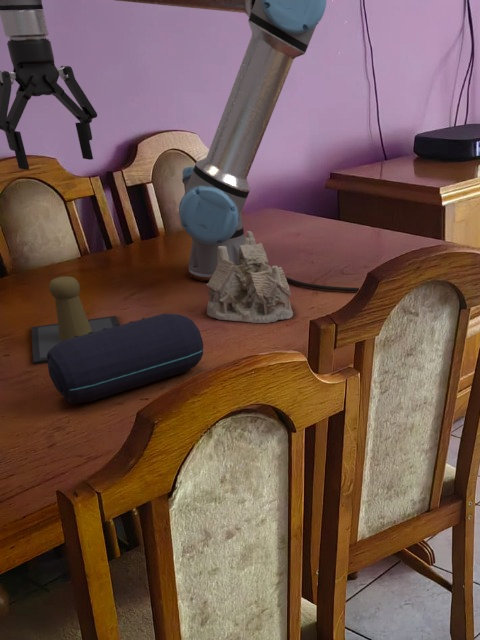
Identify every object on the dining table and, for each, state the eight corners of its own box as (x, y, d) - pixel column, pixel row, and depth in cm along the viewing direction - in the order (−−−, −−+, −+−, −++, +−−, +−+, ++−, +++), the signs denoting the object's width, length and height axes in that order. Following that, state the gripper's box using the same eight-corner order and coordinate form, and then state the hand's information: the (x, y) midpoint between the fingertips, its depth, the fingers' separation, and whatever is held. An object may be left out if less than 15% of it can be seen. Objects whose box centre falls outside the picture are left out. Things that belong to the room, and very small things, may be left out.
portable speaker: (183, 358, 149) (173, 302, 143) (213, 373, 143) (204, 315, 137) (46, 399, 135) (29, 339, 129) (73, 418, 128) (57, 355, 123)
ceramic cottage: (202, 306, 172) (194, 231, 164) (279, 298, 178) (275, 225, 169) (219, 334, 161) (212, 255, 152) (301, 325, 166) (298, 248, 158)
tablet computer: (116, 318, 168) (115, 315, 168) (126, 350, 152) (126, 347, 152) (31, 329, 163) (31, 326, 163) (33, 364, 148) (32, 361, 147)
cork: (64, 332, 160) (49, 274, 154) (96, 330, 160) (83, 272, 154) (55, 343, 155) (40, 283, 149) (89, 341, 155) (75, 282, 149)
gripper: (79, 34, 163) (103, 153, 175) (-50, 41, 148) (-14, 171, 159) (99, 35, 159) (122, 156, 170) (-31, 42, 143) (4, 175, 155)
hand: (57, 163), depth 165 cm, fingers open, 13 cm apart
